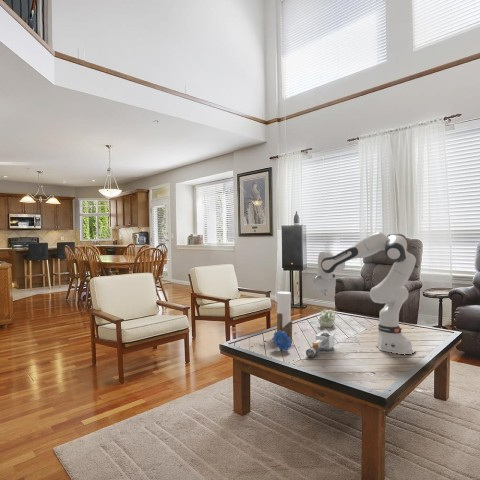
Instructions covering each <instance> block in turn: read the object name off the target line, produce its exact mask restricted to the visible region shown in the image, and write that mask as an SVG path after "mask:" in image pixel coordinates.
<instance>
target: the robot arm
mask: <svg viewBox="0 0 480 480" xmlns="http://www.w3.org/2000/svg"><path fill="white" fill-rule="evenodd" d="M408 242H409V241H408V238H407V237H406V236H405V234H404V235H403V234H402V233H395V234H388V235H385V233H383V232H380V231H379V232H375V233H372V234H370V235H368V236H366V237H364V238H362V239H360V240H359V241H358V242H356V243H355V244H354V245H351V246H350V247H349V248H346V249H345V250H344V251H341V252H339V253H338V254H336V255H335V254H333V253H332V252H331V251H321V252H319V253H318V256H317V257H318V258H317V266H318V269H317V275H315V277H314V278H313V282H312V290H313V291H320V292H321V293H320V294H321V296H322V297H326V296H327V294H328V291H329V290H332V289H336V286H337V283H336V282H337V280H336V279H337V278H336V277H337V274H334V273H337V272H341V271H343V270H344V269H345V267H346V262H349V261H350V260H353V259H364V258H367V257H370V256H372V255H375V254H377V253H378V252H380V251H384V255H385V257H386V258H387V259H388V260H390V261H393V264H392V265H391V269H390V270H389V272H388V273H387V275H386V276H385V277H384V279H383V280H382V281H381V282H378V284H376V285H375V286H373V287H371V289H370V291H369V297H370V300H371V301H372V302H373V303H376V304H385V305H384V306H383V308H381V309H380V310H379V317H378V318H379V319H378V321H379V323H378V329H377V330H378V337H377V341H376V347H377V348H378V350H379V351H383V352H387V353H391V352H392V353H393V354H396V353H398V354H397V355H400V354H404V355H403V356H406V355H405V354H411V353H414V352H415V351H416V350H417V349H415V348H413V347H412V342H411V340H410V339H409V338H408V337H407V336H406V335H405V334H403V332H402V331H403V327H400V325H399V318H400V312H401V311H400V310H401V308H402V306H403V304H404V303H405V302H406V301H407V300H408V298H409V295H410V293H409V291H408V289H407V287H406V286H405V285H406V284H407V282H408V281H409V279H410V277H411V275H412V273H413V271H414V268H415V267H416V262H417V259H416V257H415V255H414V254H412V253H410V252H409V251H408V250H407V249H408V244H409V243H408ZM413 350H414V351H413ZM416 352H417V351H416ZM416 352H415V353H416ZM392 353H391V354H392ZM415 353H414V354H415ZM411 355H412V354H411Z"/></svg>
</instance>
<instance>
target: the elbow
mask: <svg viewBox="0 0 480 480" xmlns="http://www.w3.org/2000/svg"><path fill="white" fill-rule="evenodd" d="M322 333H323V332H320V333H317V334H316V335H315V341H312V347H316V348H317V349H318V350H319V348H324V349H330V348H332V347H335V334H332V333H328V334H329V337H325V336H322Z"/></svg>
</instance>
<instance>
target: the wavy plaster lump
mask: <svg viewBox="0 0 480 480" xmlns="http://www.w3.org/2000/svg"><path fill="white" fill-rule="evenodd" d="M335 319H336V312H335V311H334V310H332V309H329V310H328V309H323V310H320V316H319V318H318V319H317V321H318V323H319V326H320V327H323V328H326V327H327V328H332V327H333V325H334V323H335Z"/></svg>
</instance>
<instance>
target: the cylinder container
mask: <svg viewBox="0 0 480 480" xmlns="http://www.w3.org/2000/svg"><path fill="white" fill-rule="evenodd" d="M276 293H277V298H276V299H277V300H276V304H277V305H276V309H277V311H276V314H277V313H282V328H284V327H285V326H286V325H287V324H288V323H289V322H291V321H292V320H291V315H292V312H291V311H292V310H291V309H292V307H291V306H292V301H291V299H292V298H291V295H292V292H291V291H277V292H276ZM282 332H283V331H282ZM283 333H284V332H283Z"/></svg>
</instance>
